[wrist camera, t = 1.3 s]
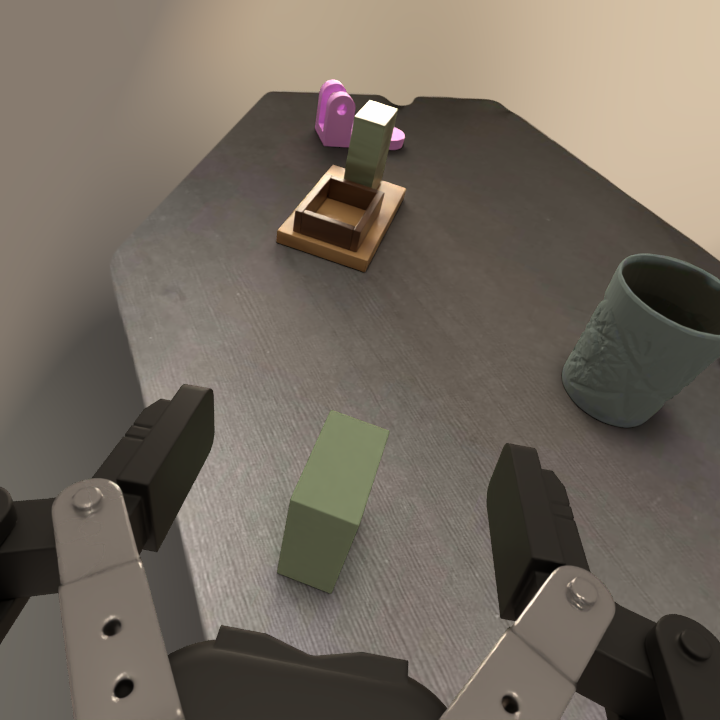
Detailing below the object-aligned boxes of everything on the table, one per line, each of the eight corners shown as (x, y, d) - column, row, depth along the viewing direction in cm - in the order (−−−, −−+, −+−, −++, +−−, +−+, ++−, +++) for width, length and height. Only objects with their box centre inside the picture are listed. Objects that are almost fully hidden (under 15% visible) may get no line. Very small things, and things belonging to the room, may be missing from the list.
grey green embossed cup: (673, 401, 48) (768, 305, 40) (630, 457, 42) (731, 358, 34) (581, 338, 52) (650, 239, 44) (531, 381, 47) (598, 275, 38)
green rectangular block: (331, 594, 30) (359, 525, 24) (276, 573, 31) (290, 499, 24) (359, 508, 35) (390, 430, 28) (311, 490, 35) (330, 409, 28)
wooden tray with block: (364, 272, 53) (387, 178, 46) (276, 242, 54) (284, 145, 47) (403, 198, 66) (426, 115, 59) (331, 175, 67) (344, 90, 59)
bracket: (323, 146, 72) (330, 94, 67) (315, 128, 76) (321, 78, 71) (407, 150, 77) (419, 102, 72) (395, 134, 80) (406, 87, 75)
